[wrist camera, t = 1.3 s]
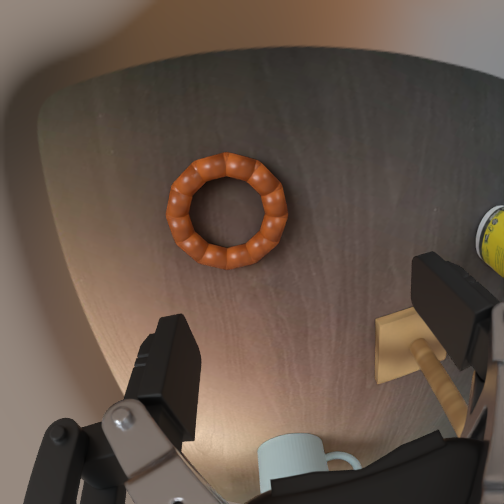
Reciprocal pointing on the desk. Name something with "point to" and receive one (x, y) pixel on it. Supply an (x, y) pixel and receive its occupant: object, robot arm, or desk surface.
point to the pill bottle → (492, 239)
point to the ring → (240, 170)
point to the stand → (416, 360)
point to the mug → (295, 457)
